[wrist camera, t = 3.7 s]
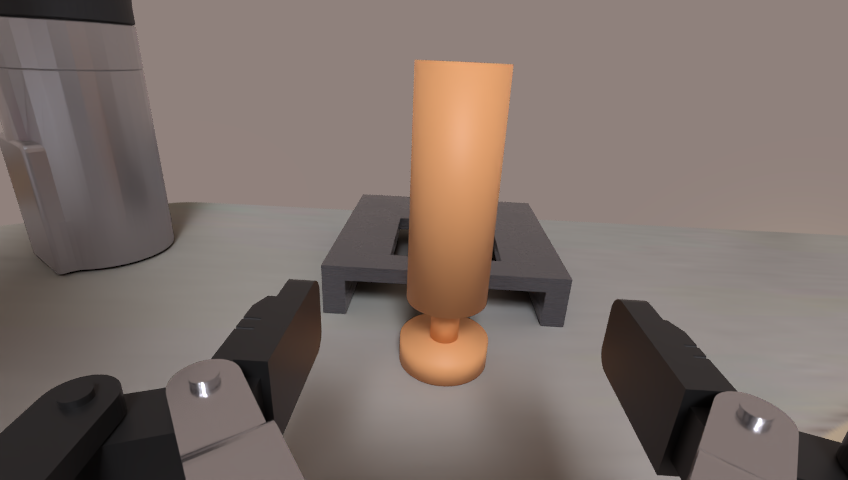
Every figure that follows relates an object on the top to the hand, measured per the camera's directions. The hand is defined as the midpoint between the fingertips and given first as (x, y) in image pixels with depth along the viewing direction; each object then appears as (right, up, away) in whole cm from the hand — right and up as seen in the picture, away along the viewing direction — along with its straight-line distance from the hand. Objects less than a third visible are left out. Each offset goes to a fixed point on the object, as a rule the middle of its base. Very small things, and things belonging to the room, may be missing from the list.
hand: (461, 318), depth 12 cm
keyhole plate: (+1, 0, +25) cm, 25 cm away
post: (0, -5, +14) cm, 15 cm away
